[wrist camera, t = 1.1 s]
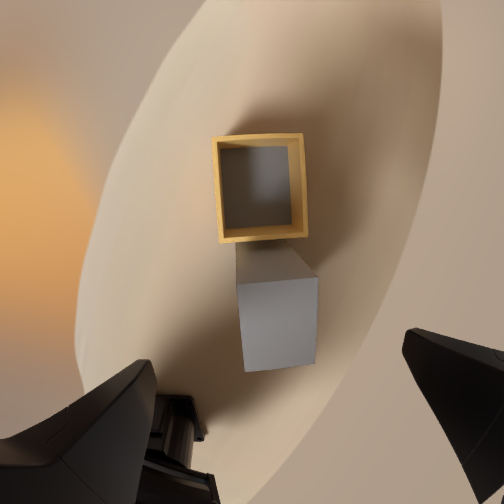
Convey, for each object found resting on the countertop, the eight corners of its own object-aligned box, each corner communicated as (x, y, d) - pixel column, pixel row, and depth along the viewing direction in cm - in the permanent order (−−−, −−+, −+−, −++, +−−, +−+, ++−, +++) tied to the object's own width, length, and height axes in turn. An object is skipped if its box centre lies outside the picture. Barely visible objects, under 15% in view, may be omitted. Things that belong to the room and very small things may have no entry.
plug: (284, 294, 19) (314, 363, 11) (240, 297, 18) (245, 372, 11) (282, 236, 18) (318, 277, 10) (235, 240, 17) (236, 284, 10)
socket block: (294, 226, 17) (308, 237, 14) (222, 231, 17) (219, 243, 14) (289, 143, 16) (302, 133, 13) (216, 146, 16) (211, 137, 12)
